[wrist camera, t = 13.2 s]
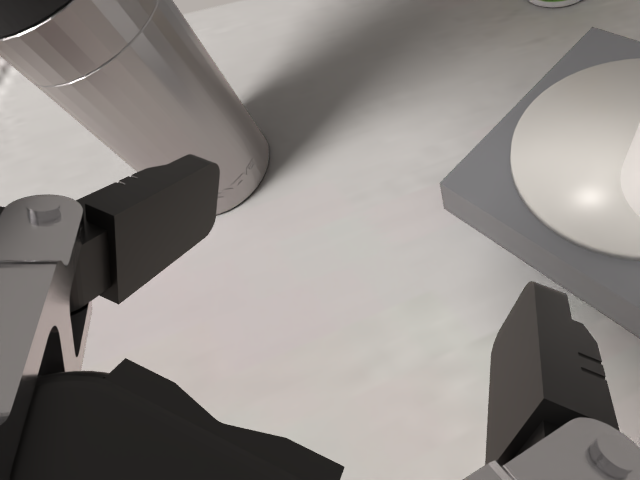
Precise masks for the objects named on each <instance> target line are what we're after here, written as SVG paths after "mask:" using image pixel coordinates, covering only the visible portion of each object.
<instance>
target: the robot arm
mask: <svg viewBox="0 0 640 480" xmlns="http://www.w3.org/2000/svg"><path fill="white" fill-rule="evenodd" d="M0 56H1V57H2V58H3V59H5V60H6V61H7V62H8V63H9V64H11V65H12V66H13V67H14V68H15V69H16V70H18V71H19V72H20V73H21V74H22V75H24V76H25V77H26V78H27V79H28V80H30V81H31V82H32V83H33V84H35V85H36V86H37V87H38V88H39V89H40V90H42V91H43V92H44V93H45V94H46V95H47V96H49V97H50V98H51V99H52V100H53V101H55V102H56V103H57V104H58V105H59V106H60V107H62V108H63V109H64V110H65V111H66V112H67V113H69V114H70V115H71V116H72V117H73V118H74V119H76V120H77V121H78V122H79V123H80V124H82V125H83V126H84V127H85V128H86V129H87V130H89V131H90V132H91V133H92V134H93V135H94V136H96V137H97V138H98V139H99V140H100V141H101V142H103V143H104V144H105V145H106V146H107V147H109V148H110V149H111V150H112V151H113V152H114V153H116V154H117V155H118V156H119V157H120V158H121V159H123V160H124V161H125V162H126V163H127V164H128V165H130V166H131V167H132V168H133V169H134V170H136V171H137V173H135V174H133V175H132V176H131V177H129V176H128V177H126V178H124V179H122V180H120V181H119V183H116V182H115V183H113V184H111V185H109V186H107V187H104V188H102V189H100V190H98V191H96V192H94V193H91V194H89V195H87V196H85V197H83V198H80V199H78V200H76V201H75V200H74V199H71V198H68V197H65V196H59V195H34V196H29V197H24V198H21V199H18V200H16V201H14V202H12V203H10V204H9V205H8V206H6V207H0V480H340V478H341V475H342V473H343V470H344V466H342V465H340V464H338V463H336V462H334V461H332V460H330V459H328V458H326V457H324V456H321V455H319V454H317V453H315V452H313V451H311V450H309V449H307V448H305V447H303V446H301V445H299V444H297V443H295V442H293V441H291V440H289V439H287V438H284V437H280V436H275V435H271V434H266V433H262V432H258V431H253V430H249V429H244V428H240V427H235V426H231V425H227V424H223V423H221V422H219V421H217V420H216V419H215V418H214V417H212V416H211V415H210V414H209V413H208V412H207V411H206V410H205V409H204V408H202V407H201V406H200V405H199V404H198V403H197V402H196V401H195V400H193V399H192V398H191V397H190V396H189V395H188V394H187V393H186V392H185V391H183V390H182V389H181V388H180V387H179V386H178V385H177V384H176V383H174V382H172V381H170V380H168V379H166V378H164V377H162V376H160V375H158V374H156V373H154V372H152V371H150V370H148V369H146V368H144V367H142V366H140V365H138V364H136V363H134V362H132V361H130V360H128V359H126V358H125V359H124V360H123V361H122V362H121V363H120V364H119V365H118V366H117V367H116V368H115V369H114V370H112V371H111V372H110V373H105V372H95V371H81V368H82V363H83V357H84V352H85V346H86V341H87V336H88V330H89V325H90V319H91V314H92V302H91V301H92V300H93V299H94V298H96V297H97V296H99V295H100V296H102V297H104V298H106V299H108V300H110V301H113V302H115V303H117V304H120V303H121V302H122V301H124V300H125V299H126V298H128V297H129V296H130V295H131V294H133V293H134V292H135V291H137V290H138V289H139V288H140V287H142V286H143V285H144V284H146V283H147V282H148V281H150V280H151V279H152V278H153V277H155V276H156V275H157V274H159V273H160V272H161V271H162V270H164V269H165V268H166V267H168V266H169V265H170V264H171V263H173V262H174V261H175V260H177V259H178V258H179V257H181V256H182V255H183V254H184V253H186V252H187V251H188V250H190V249H191V248H192V247H193V246H195V245H196V244H197V243H199V242H200V241H201V240H202V239H204V238H205V237H206V236H207V235H208V234H209V232H210V231H211V229H212V227H213V225H214V222H215V218H216V215H217V214H220V213H223V212H225V211H228V210H230V209H232V208H233V207H235V206H237V205H238V204H240V203H241V202H242V201H244V200H245V199H246V198H247V197H248V196H249V195H250V194H251V193H252V192H253V191H254V190H255V189H256V187H257V186H258V185H259V183H260V181H261V180H262V178H263V177H264V174H265V172H266V169H267V167H268V161H269V147H268V144H267V141H266V139H265V137H264V136H263V134H262V133H261V131H260V130H259V128H258V127H257V125H256V124H255V122H254V121H253V119H252V118H251V116H250V115H249V113H248V112H247V110H246V109H245V107H244V106H243V104H242V102H241V101H240V99H239V98H238V96H237V95H236V94H235V92H234V91H233V89H232V88H231V86H230V85H229V83H228V82H227V80H226V79H225V77H224V76H223V74H222V73H221V71H220V70H219V68H218V67H217V65H216V64H215V62H214V61H213V59H212V58H211V57H210V55H209V54H208V52H207V51H206V49H205V48H204V46H203V45H202V43H201V42H200V40H199V39H198V37H197V36H196V34H195V33H194V31H193V30H192V28H191V27H190V25H189V24H188V22H187V21H186V19H185V18H184V17H183V15H182V14H181V12H180V11H179V9H178V8H177V6H176V5H175V3H174V2H173V0H0ZM601 362H602V361H601V357H600V353H599V349H598V345H597V342H596V341H595V340H594V338H593V337H592V336H591V334H590V333H589V331H588V330H587V329H586V327H585V326H584V325H583V324H582V323H579V322H577V321H574V320H572V318H571V313H570V308H569V303H568V298H567V295H566V294H565V293H562V292H560V291H557V290H554V289H552V288H549V287H546V286H543V285H541V284H538V283H535V282H533V281H531V282H529V283H528V284H527V285H526V286H525V288H524V289H523V291H522V293H521V294H520V296H519V298H518V300H517V301H516V303H515V305H514V306H513V308H512V310H511V311H510V313H509V315H508V317H507V318H506V320H505V322H504V323H503V325H502V327H501V329H500V330H499V332H498V334H497V337H496V339H495V342H494V345H493V348H492V353H491V367H490V385H489V404H488V423H487V442H486V461H485V466H483V467H482V468H480V469H479V470H477V471H475V472H474V473H472V474H471V475H469V476H468V477H466V478H465V479H463V480H640V448H639V447H638V446H637V445H636V444H635V443H634V442H633V441H632V440H630V439H629V438H628V437H627V436H625V435H624V434H623V433H621V432H620V431H619V427H618V423H617V419H616V415H615V412H614V408H613V404H612V400H611V396H610V392H609V388H608V384H607V381H606V380H605V377H606V376H605V372H604V368H603V365H601Z"/></svg>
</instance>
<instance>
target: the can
mask: <svg viewBox="0 0 640 480" xmlns="http://www.w3.org/2000/svg"><path fill="white" fill-rule="evenodd" d="M620 180H621V188H622V191H623V194H624V197H625V199H626V201H627V202H628V204H629V205H630V207H631V208H632V209H633V210H634V212H635V213H636V214H637V215H638V216H639V217H640V123H639V126H638V128H637V131H636V133H635V135H634V138H633V140H632V143H631V145H630V148H629V150H628V152H627V155H626V157H625V160H624V163H623V166H622V170H621V177H620Z"/></svg>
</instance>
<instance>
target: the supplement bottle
mask: <svg viewBox="0 0 640 480" xmlns="http://www.w3.org/2000/svg"><path fill="white" fill-rule="evenodd" d="M528 1H529V2H531V3H533V4H535V5H538V6H542V7H563V6H568V5H571V4H574V3H577V2H579V1H581V0H528Z"/></svg>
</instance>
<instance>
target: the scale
mask: <svg viewBox="0 0 640 480" xmlns="http://www.w3.org/2000/svg"><path fill="white" fill-rule="evenodd" d="M639 123H640V42H639V41H636V40H633V39H629V38H626V37H623V36H620V35H617V34H613V33H610V32H607V31H604V30H600V29H597V28H594V27H592V28H591V29H590V30H589V31H588V32H587V33H586V34H585V35H584V36H583V37H582V38H581V39H580V40H579V41H578V42H577V43H576V44H575V45H574V46H573V47H572V49H571V50H570V51H569V52H568V53H567V54H566V55H565V56H564V57H563V58H562V59H561V60H560V61H559V62H558V63H557V64H556V65H555V66H554V67H553V68H552V69H551V70H550V71H549V72H548V73H547V74H546V75H545V76H544V77H543V78H542V79H541V80H540V81H539V82H538V83H537V84H536V85H535V86H534V87H533V88H532V89H531V90H530V91H529V92H528V93H527V94H526V96H525V97H524V98H523V99H522V100H521V101H520V102H519V103H518V104H517V105H516V106H515V107H514V108H513V109H512V110H511V111H510V112H509V113H508V114H507V115H506V116H505V117H504V118H503V119H502V120H501V121H500V122H499V123H498V124H497V125H496V126H495V127H494V128H493V129H492V130H491V131H490V132H489V133H488V134H487V135H486V136H485V137H484V138H483V139H482V140H481V141H480V143H479V144H478V145H477V146H476V147H475V148H474V149H473V150H472V151H471V152H470V153H469V154H468V155H467V156H466V157H465V158H464V159H463V160H462V161H461V162H460V163H459V164H458V165H457V166H456V167H455V168H454V169H453V170H452V171H451V172H450V173H449V174H448V175H447V176H446V177H445V178H444V179H443V180H442V181H441V182H440V187H441V193H442V198H443V204H444V209H446V210H447V211H449V212H450V213H452V214H453V215H455V216H456V217H458V218H459V219H461V220H462V221H464V222H465V223H467V224H469V225H470V226H472V227H473V228H475V229H476V230H478V231H479V232H481V233H482V234H484V235H485V236H487V237H488V238H490V239H491V240H493V241H494V242H496V243H497V244H499V245H500V246H502V247H503V248H505V249H506V250H508V251H509V252H511V253H512V254H514V255H515V256H517V257H518V258H520V259H521V260H523V261H524V262H526V263H527V264H529V265H530V266H532V267H533V268H535V269H536V270H538V271H539V272H541V273H542V274H544V275H545V276H547V277H548V278H550V279H551V280H553V281H554V282H556V283H557V284H559V285H560V286H562V287H563V288H565V289H566V290H568V291H569V292H571V293H572V294H574V295H575V296H577V297H579V298H580V299H582V300H583V301H585V302H586V303H588V304H589V305H591V306H592V307H594V308H595V309H597V310H598V311H600V312H601V313H603V314H604V315H606V316H607V317H609V318H610V319H612V320H613V321H615V322H616V323H618V324H619V325H621V326H622V327H624V328H625V329H627V330H628V331H630V332H631V333H633V334H634V335H636V336H637V337H639V338H640V217H639V216H638V215H637V214H636V213H635V212H634V210H633V209H632V208H631V207H630V205H629V204H628V202H627V201H626V199H625V197H624V194H623V191H622V188H621V180H620V177H621V170H622V166H623V163H624V160H625V157H626V155H627V152H628V150H629V148H630V145H631V143H632V140H633V138H634V135H635V133H636V131H637V128H638V126H639Z"/></svg>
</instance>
